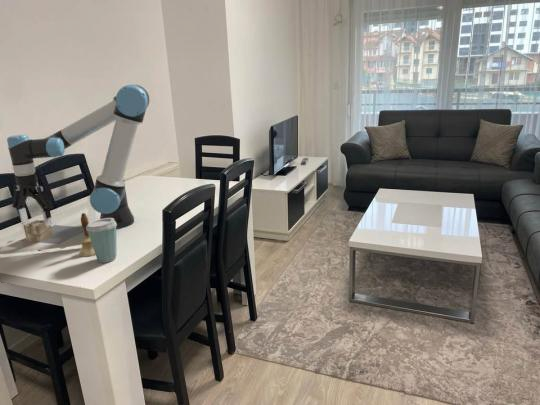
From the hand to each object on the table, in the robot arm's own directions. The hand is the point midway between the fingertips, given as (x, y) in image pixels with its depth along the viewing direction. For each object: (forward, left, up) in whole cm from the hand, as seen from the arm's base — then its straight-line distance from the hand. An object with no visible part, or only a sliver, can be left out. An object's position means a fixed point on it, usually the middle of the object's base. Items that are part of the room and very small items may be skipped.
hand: (36, 224), depth 177 cm
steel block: (0, 0, -8) cm, 8 cm away
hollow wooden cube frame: (0, 0, -6) cm, 6 cm away
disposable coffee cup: (-41, +9, -8) cm, 43 cm away
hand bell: (-30, +5, -8) cm, 31 cm away
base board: (-3, -6, -8) cm, 10 cm away
